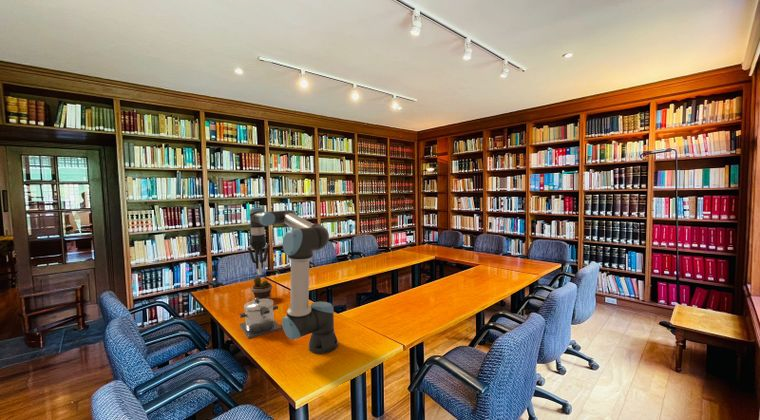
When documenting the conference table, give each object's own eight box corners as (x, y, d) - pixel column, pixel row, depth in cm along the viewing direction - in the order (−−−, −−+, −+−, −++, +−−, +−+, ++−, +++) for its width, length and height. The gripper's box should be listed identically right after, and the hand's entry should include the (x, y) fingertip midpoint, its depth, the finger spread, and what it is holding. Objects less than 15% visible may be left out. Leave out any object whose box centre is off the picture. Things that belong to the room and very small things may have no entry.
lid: (281, 309, 179) (281, 304, 179) (251, 317, 170) (251, 311, 169) (268, 299, 199) (268, 293, 199) (241, 305, 189) (241, 299, 189)
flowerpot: (276, 296, 243) (274, 271, 242) (267, 303, 228) (265, 277, 227) (258, 296, 245) (257, 271, 244) (248, 303, 230) (247, 277, 228)
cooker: (284, 328, 186) (283, 305, 185) (245, 339, 173) (244, 315, 172) (272, 316, 204) (271, 296, 203) (236, 326, 191) (235, 304, 190)
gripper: (267, 232, 187) (269, 270, 189) (244, 234, 180) (246, 274, 181) (271, 233, 181) (272, 273, 183) (247, 236, 174) (249, 277, 175)
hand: (259, 273), depth 182 cm, fingers closed
